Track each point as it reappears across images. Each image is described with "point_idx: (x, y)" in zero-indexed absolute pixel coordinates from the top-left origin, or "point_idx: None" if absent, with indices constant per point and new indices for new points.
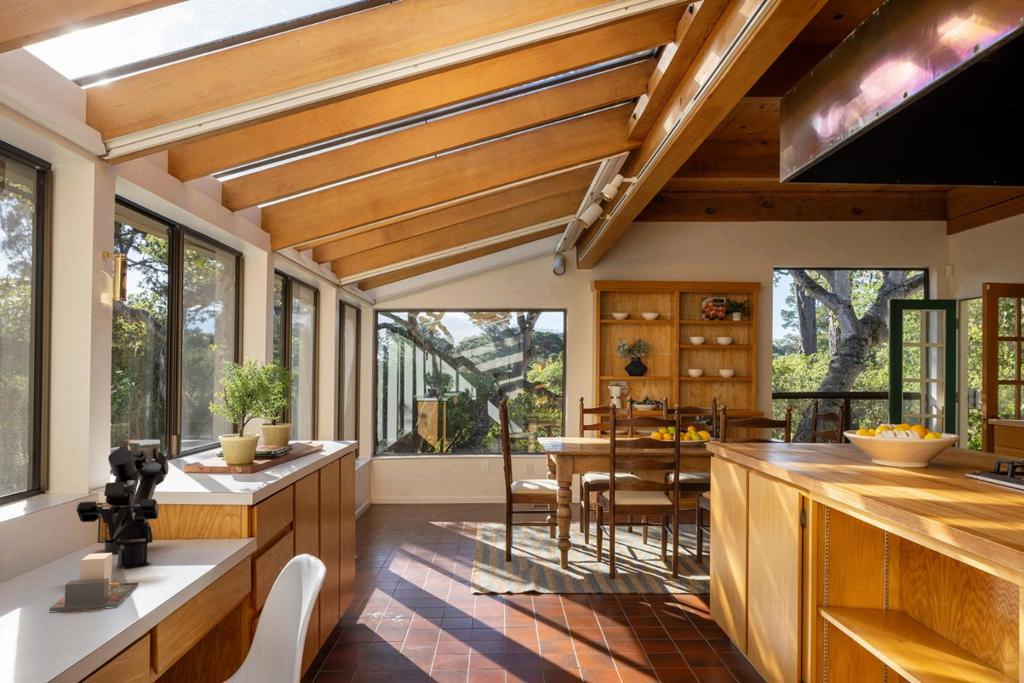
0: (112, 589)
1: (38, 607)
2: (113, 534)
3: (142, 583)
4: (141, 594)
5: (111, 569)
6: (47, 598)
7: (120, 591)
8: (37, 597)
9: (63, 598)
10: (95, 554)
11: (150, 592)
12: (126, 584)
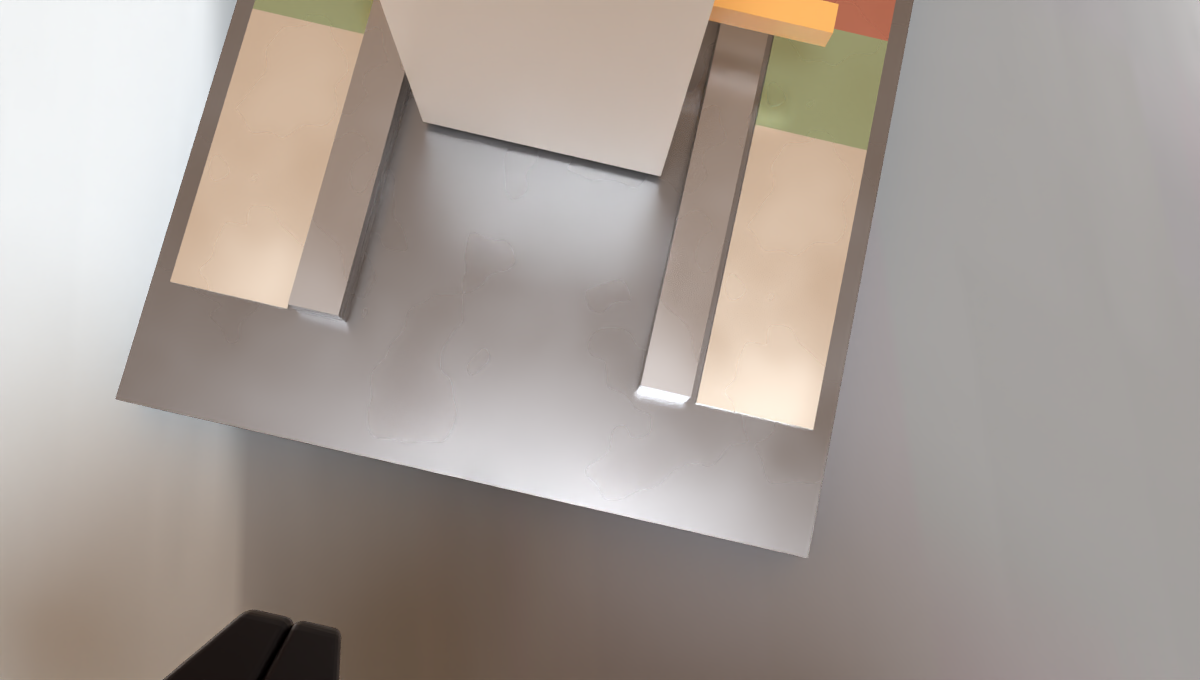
0: None
1: (1074, 27)
2: (213, 647)
3: (79, 534)
4: (125, 30)
5: (382, 4)
6: (1054, 345)
7: (323, 41)
8: (1165, 443)
9: (882, 40)
10: None
11: (29, 66)
12: (253, 362)
